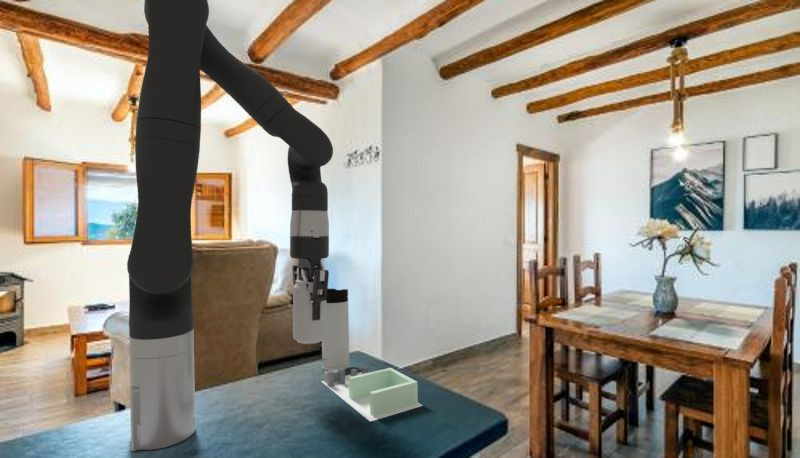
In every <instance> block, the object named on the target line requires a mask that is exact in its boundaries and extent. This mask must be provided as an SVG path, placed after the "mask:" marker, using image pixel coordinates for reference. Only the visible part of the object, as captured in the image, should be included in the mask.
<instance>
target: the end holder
mask: <svg viewBox="0 0 800 458" xmlns="http://www.w3.org/2000/svg"><path fill="white" fill-rule="evenodd" d="M418 384H419V383H418V381H417V380H414V379H413V378H411V377H409V376H407V375H406V374H403V373H402V372H400V371H398V370H396V369H394V368H392V367H387V368H384V369H379V370H374V371H371V372H369V373H365V374H361V375H357V376H352V377H349V398H350V399H351V400H352V399H356V398H360V397H364V396H367V395H370V415H372V416H373V417H374V416H377V415H380V414H384V413H387V412H391V411H394V410H397V409H401V408H404V407H407V406H411V405H414V404H417V403H419V401H418V400H419V398H418V397H419V395H418V394H419V393H418V392H419V391H418V389H419V388H418V387H419V386H418Z"/></svg>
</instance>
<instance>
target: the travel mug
mask: <svg viewBox="0 0 800 458" xmlns="http://www.w3.org/2000/svg"><path fill="white" fill-rule="evenodd" d="M349 317H350V316H349V289H347V288H342V289H336V288H327V299H326V337H325V338H324V339H323V340H322V341H321V342H322V343H321V347H322V348H321V356H322V359H321V360H322V362H321V363H322V373H323V372H324V371H329V370H334V369H337V370H339V368H344V369H345V370H347V369H348V370H349V369H350V336H349V335H350V332H349V331H350V329H349V328H350V327H349V326H350V325H349V321H350V320H349Z"/></svg>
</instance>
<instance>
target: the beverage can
mask: <svg viewBox="0 0 800 458" xmlns="http://www.w3.org/2000/svg"><path fill="white" fill-rule="evenodd" d="M306 283H307V284H309V286H308V290H309V291H308V290H307V288H306ZM292 287H293V292H292V293H293V296H292V297H293V300H292V302H293V303H292V304H293V305H292V306H293V307H292V309H293V310H292V311H293V312H292V313H293V314H292V316H293V317H292V320H293V321H292V337H293V338H292V339H293V340H294V341H296V342H297V343H298V344H301V345H303V344H304V345H310V344H311V345H312V344H317V343H321V342H322V340H323V339H324V338H325V337H326V301H323V302H322V303H320V320H314V321H313V320H312V315H313V314H312V313H313V312H312V303H311V304H310V302H309V299H310V292H311V293H313V282H304V281H303V280H296V284H295V285H294V284H293V286H292ZM321 290H323V289H319V290H318V291H317V295H320V292H321ZM316 308H317V306H316ZM316 312H317V311H316ZM316 316H317V315H316Z"/></svg>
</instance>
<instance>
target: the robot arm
mask: <svg viewBox="0 0 800 458" xmlns="http://www.w3.org/2000/svg"><path fill="white" fill-rule="evenodd" d="M143 4H144V5H143V6H144V7H143V11H144V12H143V13H144V18H145V20H146V22H147V25H148V27H147V29H148V52H147V60H146V66H145V71H144V74H143V79H142V83H141V88H140V95H139V99H138V100H139V101H138V106H137V107H138V108H137V113H136V114H137V115H136V124H135V125H136V128H135V143H134V145H135V147H134V149H135V151H134V154H135V155H134V156H135V157H134V159H135V175H136V176H135V177H136V185H137V186H136V187H137V212H136V220H135V226H134V231H133V237H132V244H131V247H130V250H129V255H128V257H127V261H126V263H127V264H126V268H127V274H128V289H129V290H128V292H129V293H128V294H129V298H128V299H129V307H128V333H129V373H130V374H129V379H130V380H129V385H130V386H129V397H130V447H131V448H130V449H131V452H136V451H141V450H144V451H145V450H146V451H148V450H149V451H150V450H158V449H159V450H160V449H163V448H168V447H170V446H171V447H172V446H174V445H177V444H179V443H181V442H183V441H185V440H187V439H189V437H191V436H192V435H193V434H194V433H195V431H196V391H195V389H196V388H195V387H196V386H195V383H196V382H195V380H196V379H195V378H196V377H195V338H194V337H195V333H194V332H195V331H194V330H195V329H194V307H193V299H192V293H193V292H192V273H193V270H194V254H193V243H192V241H193V240H192V220H191V219H192V217H191V215H192V203H193V197H194V196H193V195H194V190H195V185H196V181H197V175H198V168H199V159H200V151H201V149H200V148H201V135H202V134H201V133H202V89H201V86H202V85H201V84H202V83H201V72H203V73H204V74H205V75H206V76H207V77H209V79H211V80H212V81H213V82H214V83H216V85H218V86H219V87H220V88H221V89H222V90H223V91H224V92H225V93H226V94H227V95H228V96H230V97H231V98H232V99H233V100H234V101H235V102H236V103H237V105H239V106H240V108H242V109H243V111H244V112H246V113H247V114H248V116H250V118H251V119H252V120H254V121H255V123H257V124H258V125H259V127H260V128H262V129H263V130H264V131H265V132H266V133H267V134H268V135H270V136H271V137H275V138H279V139H280V140H282V141H283V142H284V143H285V144H287V145H288V148H287V167H288V174H289V181H290V183H291V191H292V192H291V214H290V215H291V216H290V224H289V226H290V228H289V256H290V258H291V259H294V260H298V264H296V265H292V268H291V269H292V281H293V286H294V285H295V284H296V280H303V281H304V282H313V293H311V292H310V299H309V302H310V304H311V303H312V312H313V313H312V314H313V315H312V320H313V321H314V320H320V303H322V302H323V301H326V299H327V288H328V287H329V286H328V285H329V270H328V269H325V270H324V269H323V266H322V259H326V258H329V256H330V255H329V254H330V247H329V246H330V219H329V214H328V213H329V211H328V208H329V205H328V204H329V201H328V200H329V196H328V195H329V192H328V187H327V185H326V184H325V183H324V182H322V173H321V171H322V170H321V168H322V167H325V166H326V165H327V164H328V163H329V162H331V160H332V158H333V155H334V148H333V143H332V141H331V139H330V138H329V136H328V135H327V134H326V133H325V132H324V130H322V129H321V128H320V127H319V126H318V125H317V124H315V123H314V122H313V121H312V120H310V119H309V118H308V117H307V116H305V115H304V114H302V113H301V112H299V111H298V110H297V109H295V108H294V107H293V106H292V104H291V103H290V102H289V101H288V100H287V99H286V97H284V95H283V94H282V93H281V92H280V91H279V90H278V89H277V88H276V86H274V85H273V84H272V83H271V82H270V81H269V80H268V79H266V77H264V76H263V75H262V74H261V73H259V72H257V71H256V70H255V69H253V68H252V67H249V65H247V64H245V63H244V62H242V61H241V60H240V59H239V58H237V57H236V56H234V55H233V53H231V52H230V51H229V50H228V49H227V48H226V47H225V46H224V45H223V44H222V43H221V42H220V41H219V40H218V38H217V37H216V36H215V34H214V33H213V32H212V30H211V29H210V28H209V26H208V25H207V22H208V20H209V16H210V7H209V1H208V0H144V3H143ZM308 286H309V284H307V283H306V288H307V290H308ZM319 289H323V290H321V292H320V295H317V291H318V290H319ZM328 289H329V288H328ZM308 291H309V290H308ZM316 306H317V308H316ZM316 311H317V312H316ZM316 315H317V316H316Z"/></svg>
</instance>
